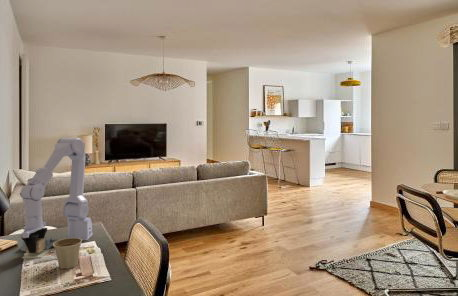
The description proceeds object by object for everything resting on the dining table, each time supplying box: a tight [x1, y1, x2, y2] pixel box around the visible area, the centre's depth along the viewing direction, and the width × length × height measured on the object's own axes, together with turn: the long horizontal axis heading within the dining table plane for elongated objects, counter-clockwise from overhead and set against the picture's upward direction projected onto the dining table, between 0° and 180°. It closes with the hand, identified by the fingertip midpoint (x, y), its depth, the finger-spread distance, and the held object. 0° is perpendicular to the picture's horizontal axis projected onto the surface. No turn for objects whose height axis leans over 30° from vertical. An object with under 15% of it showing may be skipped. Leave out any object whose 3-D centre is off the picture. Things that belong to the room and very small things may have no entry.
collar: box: [25, 237, 46, 254], centre depth 135 cm, size 5×5×4 cm
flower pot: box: [52, 237, 83, 270], centre depth 124 cm, size 9×9×9 cm
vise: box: [20, 236, 59, 252], centre depth 143 cm, size 13×7×7 cm, turn 93°
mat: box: [21, 249, 50, 259], centre depth 135 cm, size 7×7×1 cm
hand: (36, 250), depth 135 cm, fingers closed on collar, 5 cm apart
